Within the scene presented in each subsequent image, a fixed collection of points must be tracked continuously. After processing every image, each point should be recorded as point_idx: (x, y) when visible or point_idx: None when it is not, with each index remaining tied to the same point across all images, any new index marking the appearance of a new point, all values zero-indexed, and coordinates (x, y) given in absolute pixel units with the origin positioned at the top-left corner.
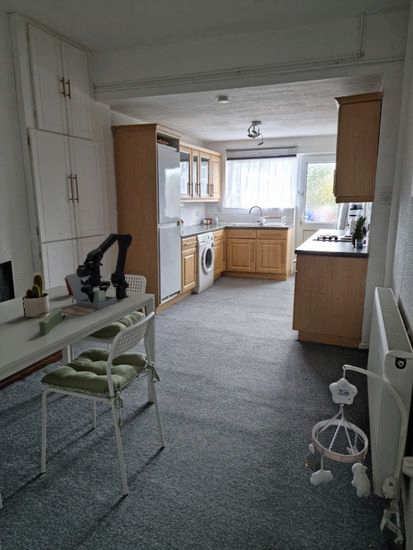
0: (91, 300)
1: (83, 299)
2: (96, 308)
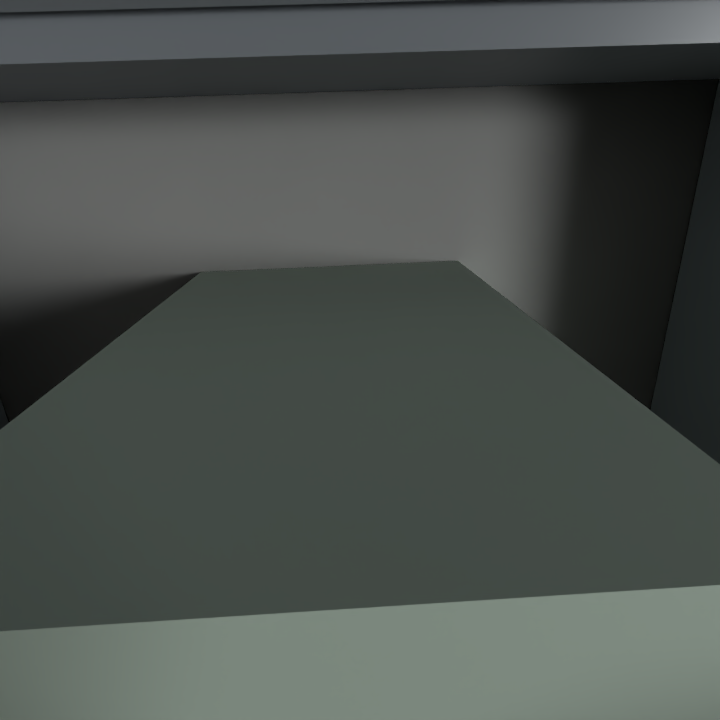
0: None
1: (11, 64)
2: None
